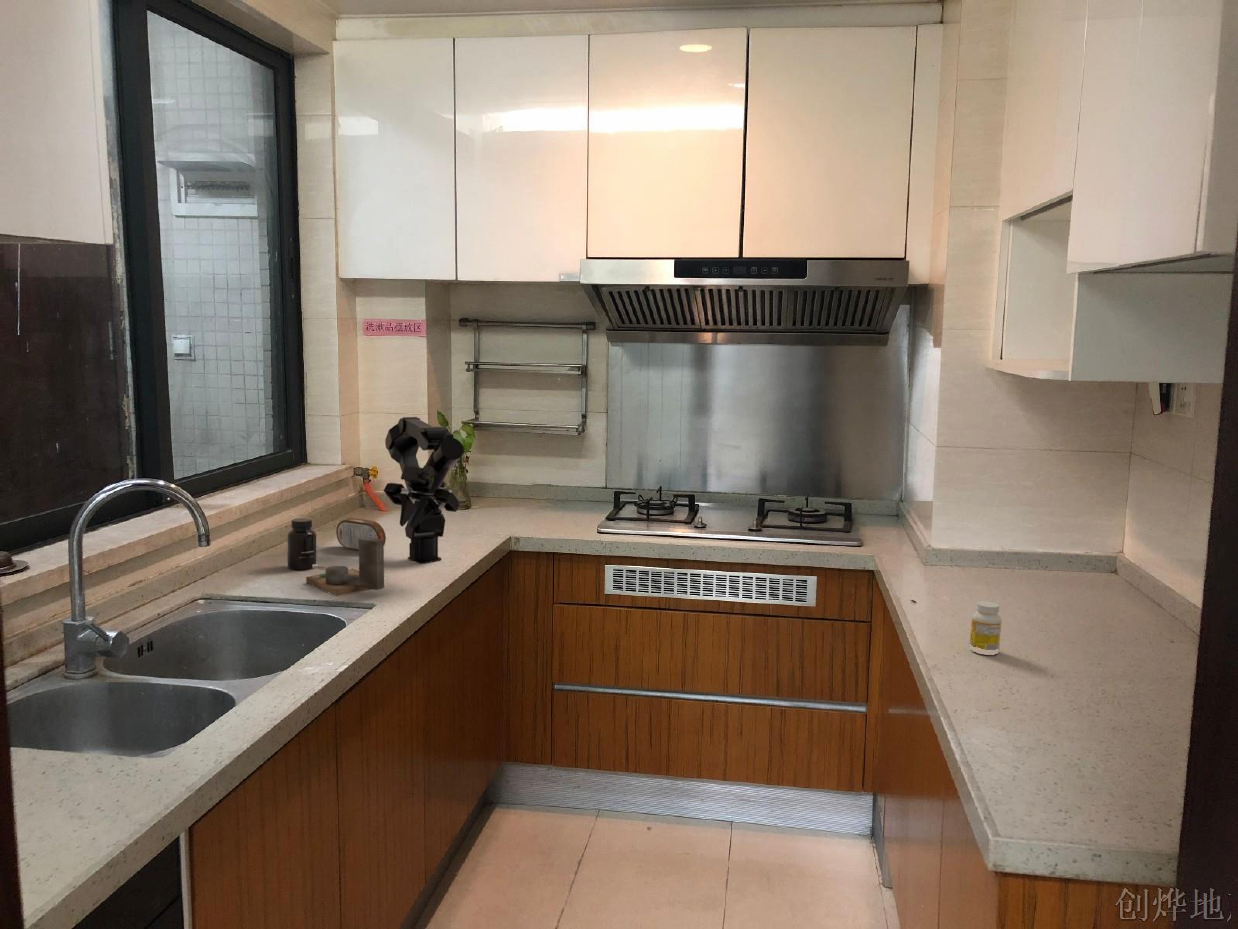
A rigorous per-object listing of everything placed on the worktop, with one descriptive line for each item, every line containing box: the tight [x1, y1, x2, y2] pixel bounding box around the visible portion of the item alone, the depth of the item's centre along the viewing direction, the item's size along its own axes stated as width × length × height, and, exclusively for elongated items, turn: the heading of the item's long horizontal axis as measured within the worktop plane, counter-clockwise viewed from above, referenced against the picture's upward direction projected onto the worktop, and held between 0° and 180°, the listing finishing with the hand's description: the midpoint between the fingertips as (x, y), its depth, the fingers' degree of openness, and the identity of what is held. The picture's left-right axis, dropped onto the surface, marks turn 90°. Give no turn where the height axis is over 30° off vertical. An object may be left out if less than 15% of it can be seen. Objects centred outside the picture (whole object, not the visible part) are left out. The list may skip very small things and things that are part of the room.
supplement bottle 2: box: [969, 600, 1003, 650], centre depth 181 cm, size 5×5×10 cm
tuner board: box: [305, 568, 370, 597], centre depth 217 cm, size 12×14×2 cm
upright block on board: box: [312, 537, 385, 591], centre depth 211 cm, size 20×5×11 cm, turn 65°
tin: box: [336, 517, 387, 552], centre depth 250 cm, size 15×3×8 cm, turn 65°
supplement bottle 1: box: [286, 517, 317, 571], centre depth 231 cm, size 7×7×12 cm
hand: (406, 526), depth 219 cm, fingers open, 3 cm apart
